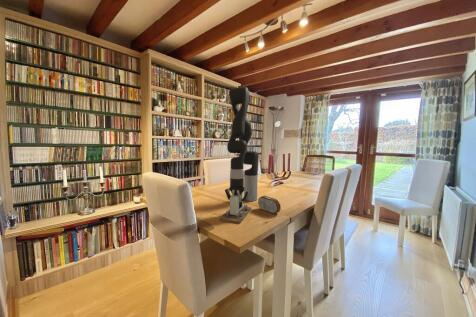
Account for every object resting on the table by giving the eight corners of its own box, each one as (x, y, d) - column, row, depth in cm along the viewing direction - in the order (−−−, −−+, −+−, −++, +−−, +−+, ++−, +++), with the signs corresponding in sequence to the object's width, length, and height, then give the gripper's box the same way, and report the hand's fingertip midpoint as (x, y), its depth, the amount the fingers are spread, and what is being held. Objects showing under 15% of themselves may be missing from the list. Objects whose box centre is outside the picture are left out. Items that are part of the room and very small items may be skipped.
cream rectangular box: (229, 214, 107) (229, 197, 106) (237, 207, 118) (237, 191, 117) (236, 215, 106) (236, 198, 105) (242, 207, 117) (242, 192, 116)
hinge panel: (233, 207, 124) (233, 200, 124) (251, 209, 121) (251, 202, 120) (219, 220, 104) (219, 212, 103) (240, 223, 100) (240, 215, 100)
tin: (280, 214, 113) (281, 199, 112) (277, 216, 111) (277, 200, 110) (260, 207, 124) (260, 194, 123) (257, 208, 122) (257, 194, 121)
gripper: (222, 177, 109) (222, 208, 111) (247, 179, 104) (247, 211, 106) (227, 175, 116) (227, 204, 118) (251, 176, 112) (250, 207, 113)
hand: (236, 207), depth 112 cm, fingers closed on cream rectangular box, 3 cm apart
